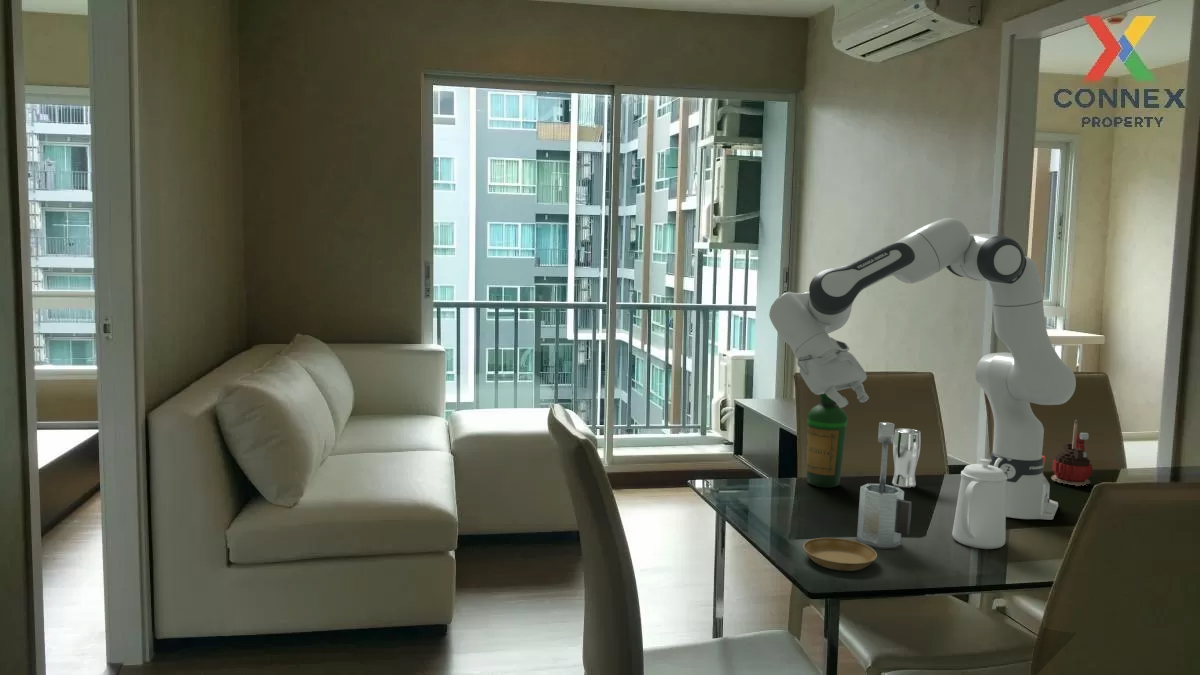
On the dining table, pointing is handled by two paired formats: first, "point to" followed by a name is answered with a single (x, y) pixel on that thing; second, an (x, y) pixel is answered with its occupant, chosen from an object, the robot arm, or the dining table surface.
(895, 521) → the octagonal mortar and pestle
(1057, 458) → the cake
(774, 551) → the dining table surface
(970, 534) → the coffeepot
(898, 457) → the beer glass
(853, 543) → the plant saucer
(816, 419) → the bottle
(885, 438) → the dumbbell
